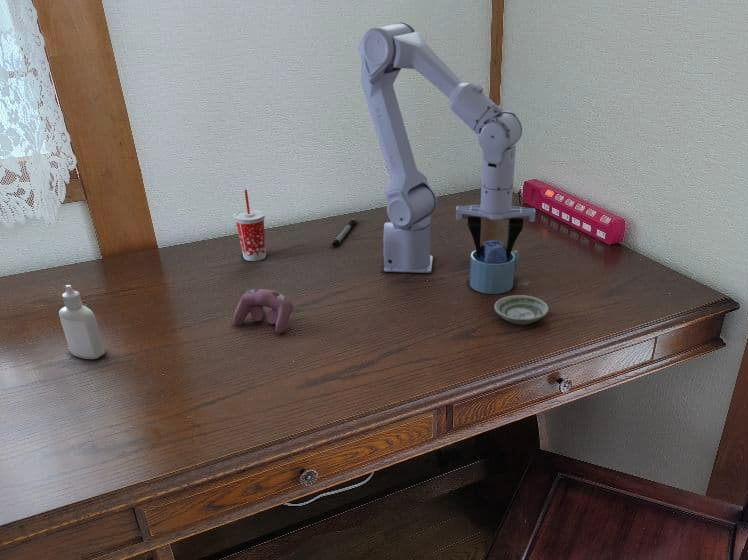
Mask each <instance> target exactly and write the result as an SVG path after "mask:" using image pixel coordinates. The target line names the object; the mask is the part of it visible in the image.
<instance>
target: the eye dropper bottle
mask: <svg viewBox="0 0 748 560" xmlns="http://www.w3.org/2000/svg"><path fill="white" fill-rule="evenodd" d="M61 297H62V300H63V304H64V306H63V307H62V308H60V310H59V311H58V316H59V320H60V323H61V327H62V329H63V333H64V336H65V339H66V343H67V345H68V349H69V352H70V354H72V355H73V356H74V357H75V358H76V357H77V358H80V359H84V360H96V359H99V358H100V357H102V356H104V355H105V354H106V350H105V346H104V343H103V339H102V336H101V332H100V328H99V325H98V321H97V319H96V316H95V313H94V311H92V310H91V309H90V308H89V307H87V306H86V305H83V300H82V298H81V293H80V292H79V291H77V290H74V288H73V286H72V285H71V284H66V285H65V292H64V293H62V295H61Z"/></svg>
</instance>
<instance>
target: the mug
mask: <svg viewBox="0 0 748 560" xmlns="http://www.w3.org/2000/svg"><path fill="white" fill-rule="evenodd" d="M519 253H520V252H519V250H517V249H515V250H512V251H511V254H510V258H506V262H505V263H501V264H488V263H483V262H481V258H480V257H477V253H476V249H474V250H472V252H470V256H469V257H470V258H469V259H470V260H469V286H470V287H471V289H472V290H474V291H476V292H478V293H481V294H487V295H500V294H504V293H507V292H509V291H511V290H512V289H513V287H514V283H515V282H514V281H515V272H516V271H518V265H519Z"/></svg>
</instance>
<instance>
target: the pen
mask: <svg viewBox="0 0 748 560" xmlns="http://www.w3.org/2000/svg"><path fill="white" fill-rule="evenodd" d="M356 223H357V218H356V217H352V218H351V219H350V220H349V222H348V223H347V224H346V226H344V228H343V229H342V230H341V232H340V233H339V234H338V235H337V237H335V238H334V240H333V242H332V246H333V247H337V246H339V245H340V243H342V241H343V239H344V238H345V237H346V235H347V234H348V233H349V232H350V231H351V229H352V228H353V227H354V225H355V224H356Z"/></svg>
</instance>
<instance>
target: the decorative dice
mask: <svg viewBox="0 0 748 560" xmlns="http://www.w3.org/2000/svg"><path fill="white" fill-rule="evenodd" d="M480 248H481V255H480V258H481V262H483V263H488V264H501V263H505V262H506V257H507V255H506V245H505V243H504V242H502V241H500V240H486V241H484V242H483V243H482V244H481V245H480Z"/></svg>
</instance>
